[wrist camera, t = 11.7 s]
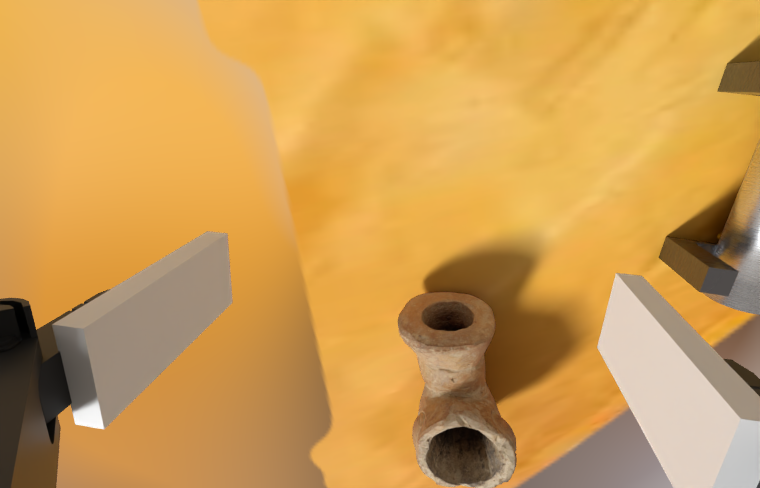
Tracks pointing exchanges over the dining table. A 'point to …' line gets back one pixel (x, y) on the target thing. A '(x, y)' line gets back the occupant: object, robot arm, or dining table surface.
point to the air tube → (743, 243)
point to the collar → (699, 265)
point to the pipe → (456, 392)
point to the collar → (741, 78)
